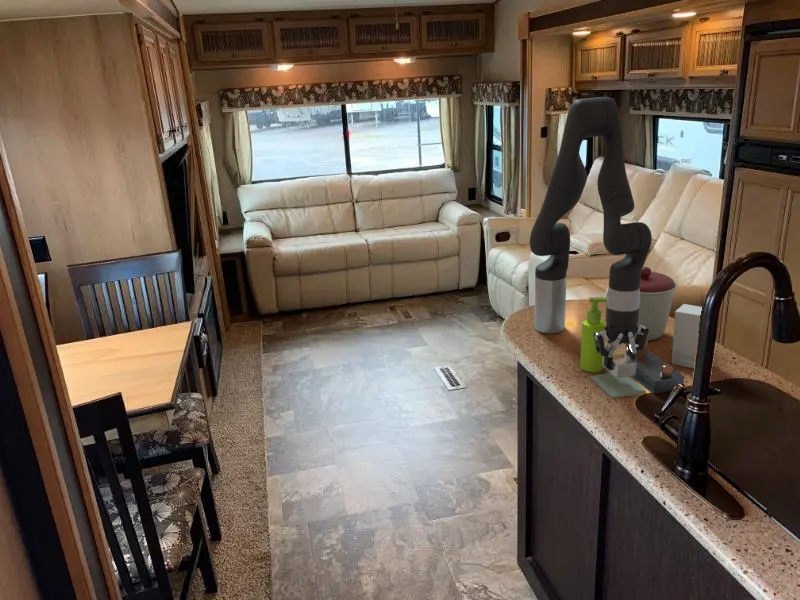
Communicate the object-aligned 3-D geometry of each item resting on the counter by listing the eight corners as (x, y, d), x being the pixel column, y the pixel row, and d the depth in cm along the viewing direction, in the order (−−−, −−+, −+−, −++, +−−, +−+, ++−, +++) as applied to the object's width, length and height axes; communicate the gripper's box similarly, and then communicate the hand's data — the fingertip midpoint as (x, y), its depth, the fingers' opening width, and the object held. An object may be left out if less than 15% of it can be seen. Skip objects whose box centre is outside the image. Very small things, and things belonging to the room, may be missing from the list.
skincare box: (710, 362, 164) (717, 308, 158) (702, 372, 159) (708, 317, 154) (678, 354, 169) (684, 302, 164) (669, 363, 165) (674, 310, 159)
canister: (628, 350, 173) (633, 280, 166) (596, 326, 190) (600, 262, 183) (685, 341, 176) (693, 272, 169) (649, 319, 193) (655, 255, 186)
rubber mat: (590, 378, 160) (590, 376, 160) (622, 373, 161) (622, 371, 161) (612, 398, 150) (612, 396, 150) (645, 392, 151) (645, 390, 151)
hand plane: (621, 367, 164) (623, 338, 161) (648, 362, 166) (651, 334, 163) (653, 393, 151) (656, 362, 148) (682, 388, 152) (686, 358, 149)
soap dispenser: (608, 372, 162) (612, 302, 155) (581, 371, 164) (584, 302, 156) (605, 362, 167) (609, 294, 160) (579, 361, 169) (582, 294, 162)
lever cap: (602, 365, 157) (603, 350, 155) (620, 362, 158) (621, 347, 156) (616, 378, 150) (617, 362, 149) (635, 375, 151) (636, 359, 150)
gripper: (641, 295, 152) (636, 357, 158) (588, 303, 150) (585, 365, 156) (659, 305, 146) (653, 369, 151) (603, 313, 143) (599, 378, 149)
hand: (618, 367), depth 154 cm, fingers closed on lever cap, 5 cm apart
